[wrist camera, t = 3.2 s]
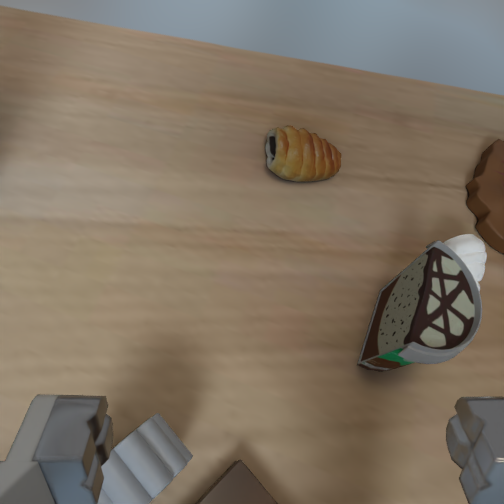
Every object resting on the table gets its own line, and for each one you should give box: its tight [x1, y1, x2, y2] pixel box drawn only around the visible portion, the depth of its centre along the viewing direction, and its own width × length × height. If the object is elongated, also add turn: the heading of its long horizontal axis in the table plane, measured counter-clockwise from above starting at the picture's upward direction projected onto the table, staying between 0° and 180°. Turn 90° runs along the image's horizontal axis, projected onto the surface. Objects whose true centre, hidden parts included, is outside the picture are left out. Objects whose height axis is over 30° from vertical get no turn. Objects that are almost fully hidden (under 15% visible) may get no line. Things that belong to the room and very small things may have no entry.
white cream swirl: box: [443, 234, 487, 291], centre depth 54 cm, size 6×6×5 cm
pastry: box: [265, 126, 341, 182], centre depth 56 cm, size 9×7×4 cm
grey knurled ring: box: [97, 413, 193, 504], centre depth 33 cm, size 4×8×8 cm, turn 134°
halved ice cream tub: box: [357, 240, 482, 371], centre depth 46 cm, size 12×6×10 cm, turn 156°
